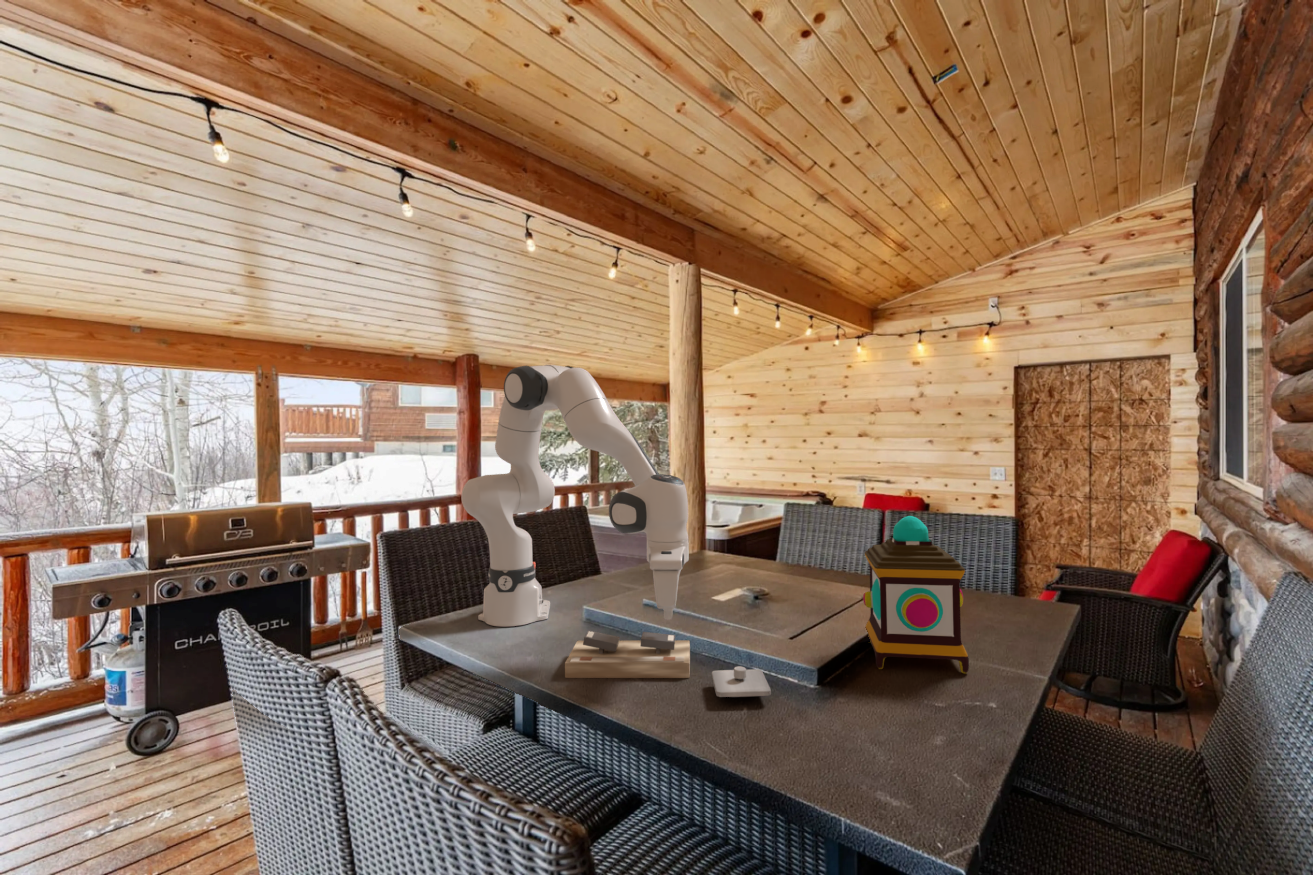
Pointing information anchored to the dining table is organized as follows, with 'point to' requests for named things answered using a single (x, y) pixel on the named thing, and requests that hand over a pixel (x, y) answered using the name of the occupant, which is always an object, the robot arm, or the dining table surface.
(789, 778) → the dining table surface
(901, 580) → the decorative lantern
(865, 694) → the dining table surface
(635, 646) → the switch panel
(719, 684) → the light switch
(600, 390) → the robot arm
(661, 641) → the plate
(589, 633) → the plate
